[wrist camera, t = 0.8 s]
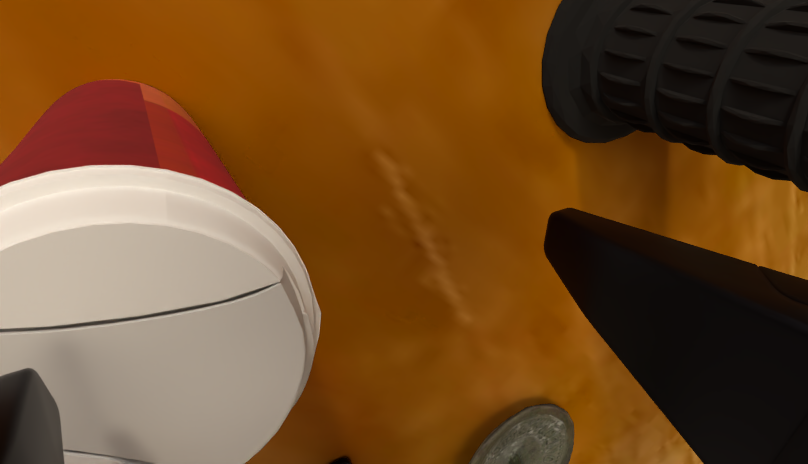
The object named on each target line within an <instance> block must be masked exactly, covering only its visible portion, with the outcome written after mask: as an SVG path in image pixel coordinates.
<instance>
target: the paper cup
mask: <svg viewBox="0 0 808 464" xmlns="http://www.w3.org/2000/svg"><path fill="white" fill-rule="evenodd" d="M320 321H321V311H320V309H319V306H318V303H317V300H316V297H315V294H314V292H313V289H312V285H311V282H310V279H309V275H308V272H307V269H306V267H305V265H304V263H303V261H302V259H301V257H300V256H299V254H298V252H297V250H296V248H295V246H294V245H293V244H292V242H291V241H290V240H289V239H288V237H287V236H286V235H285V234H284V232H283V231H282V230H281V229H280V227H279V226H278V225H277V224H276V223H275V222H273V221H272V220H271V219H270V218H269V217H268V216H267V215H265V214H264V213H263V212H262V211H261V210H260V209H259V208H257V207H256V206H254V205H253V204H251V203H249V202H248V201H247V200H246V199H245V197H244V196H243V194H242V193H241V191H240V189H239V188H238V186H237V185H236V183H235V182H234V180H233V179H232V177H231V176H230V174H229V173H228V171H227V170H226V168H225V167H224V165H223V164H222V162H221V160H220V159H219V157H218V156H217V154H216V153H215V151H214V150H213V148H212V147H211V145H210V144H209V142H208V141H207V140H206V138H205V137H204V135H203V134H202V132H201V131H200V129H199V128H198V127H197V125H196V124H195V123H194V121H193V120H192V119H191V117H190V116H189V115H188V114H187V112H186V111H185V110H184V109H183V108H182V107H181V106H180V105H179V104H178V103H177V102H175V101H174V100H173V99H172V98H170V97H169V96H168V95H166V94H165V93H163V92H161V91H159V90H157V89H155V88H153V87H151V86H148V85H145V84H142V83H139V82H135V81H129V80H121V79H108V80H99V81H94V82H90V83H86V84H84V85H81V86H79V87H76V88H74V89H72V90H71V91H69V92H67V93H66V94H64V95H63V96H62V97H61V98H59V99H58V100H57V101H56V102H55V103H54V104H53V105H52V106H51V107H50V108H49V109H48V110H47V111H46V112H45V113H44V114H43V115H42V116H41V118H40V119H39V120H38V121H37V123H36V124H35V125H34V126H33V127H32V129H31V130H30V131H29V132H28V133H27V135H26V136H25V137H24V138H23V140H22V141H21V142H20V143H19V145H18V146H17V147H16V148H15V149H14V151H13V152H12V153H11V154H10V155H9V156H8V157H7V158H6V159H5V160H4V161H3V163H2V164H1V165H0V376H2V375H5V374H8V373H11V372H15V371H18V370H21V369H25V368H32V369H34V370H35V371H36V372H37V373H38V374H39V376H40V377H41V379H42V381H43V382H44V384H45V385H46V387H47V389H48V390H49V392H50V393H51V395H52V397H53V398H54V400H55V402H56V404H57V406H58V409H59V414H60V421H61V432H62V443H63V453H64V464H245V463H246V462H247V461H248V460H250V459H251V458H252V457H253V456H254V455H255V454H256V453H258V452H259V451H260V450H261V449H262V448H263V447H264V446H265V445H266V444H267V443H268V442H269V440H270V439H271V438H272V437H273V436H274V435H275V433H276V432H277V431H278V430H279V428H280V427H281V425H282V424H283V422H284V420H285V419H286V417H287V415H288V414H289V412H290V410H291V409H292V407H293V406H294V405H295V404H296V402H297V401H298V399H299V397H300V396H301V394H302V392H303V390H304V387H305V385H306V382H307V380H308V377H309V374H310V371H311V367H312V363H313V358H314V353H315V350H316V346H317V342H318V338H319V333H320Z"/></svg>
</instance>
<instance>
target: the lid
mask: <svg viewBox="0 0 808 464" xmlns="http://www.w3.org/2000/svg"><path fill="white" fill-rule="evenodd" d="M573 445H574V424H573V421H572V419H571V418H570V416H569V414H568V412H567V411H565V410H564V409H562V408H560V407H558V406H556V405H554V404H540V405H535V406H530V407H526V408H524V409H523V410H521V411H520V412H518V413H516V414H515V415H513V416H511V417H509V418H508V419H507V420H505V421H504V422H503V423H501V424H500V425H499V426H498V427H497V428H495V429H494V430H493V431H492V432H491V433H490V434H489V435H488V436H487V437H486V439H485V440H484V441H483V442H482V444H481V445H480V446H479V448H478V449H477V451H476V452H475V454H474V455H473V457H472V459H471V460H470V462H469V464H568V463H569V461H570V457H571V453H572V450H573Z"/></svg>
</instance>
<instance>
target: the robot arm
mask: <svg viewBox="0 0 808 464" xmlns="http://www.w3.org/2000/svg"><path fill="white" fill-rule="evenodd" d="M544 252H545V255H546V257H547V259H548V260H549V262H550V263H551V265H552V267H553V268H554V270H555V271H556V273H557V274H558V276H559V277H560V279H561V280H562V282H563V283H564V285H565V287H566V288H567V290H568V291H569V293H570V294H571V296H572V297H573V299H574V300H575V302H576V303H577V305H578V307H579V308H580V309H581V311H582V312H583V314H584V315H585V317H586V318H587V319H588V320H589V322H590V323H591V324H592V326H593V327H594V328H595V329H596V331H597V332H598V333H599V334H600V336H601V337H602V338H603V339H604V341H605V342H606V343H607V344H608V346H609V347H610V348H611V349H612V350H613V352H614V353H615V354H616V355H617V357H618V358H619V359H620V360H621V362H622V363H623V364H624V365H625V367H626V368H627V369H628V370H629V372H630V373H631V374H632V375H633V376H634V378H635V379H636V380H637V381H638V383H639V384H640V385H641V386H642V388H643V389H644V390H645V391H646V393H647V394H648V395H649V396H650V398H651V399H652V400H653V401H654V403H655V404H656V405H657V406H658V407H659V409H660V410H661V411H662V412H663V414H664V415H665V416H666V417H667V419H668V420H669V421H670V422H671V424H672V425H673V426H674V427H675V429H676V430H677V431H678V432H679V433H680V435H681V436H682V437H683V438H684V440H685V441H686V442H687V443H688V445H689V446H690V447H691V448H692V450H693V451H694V452H695V453H696V455H697V456H698V457H699V458H700V460H701V461H702V462H703V463H704V464H808V280H805V279H802V278H799V277H795V276H792V275H788V274H785V273H782V272H778V271H775V270H772V269H769V268H765V267H762V266H759V267H758V266H757V265H755V264H752V263H749V262H746V261H742V260H739V259H736V258H733V257H729V256H726V255H723V254H720V253H716V252H713V251H710V250H707V249H703V248H700V247H697V246H694V245H690V244H687V243H684V242H681V241H677V240H674V239H671V238H668V237H664V236H661V235H658V234H655V233H651V232H648V231H645V230H642V229H638V228H635V227H632V226H629V225H625V224H622V223H619V222H616V221H612V220H609V219H606V218H603V217H599V216H596V215H593V214H590V213H586V212H583V211H580V210H577V209H573V208H566V209H562V210H559V211H556V212H553V213H552V214H551V215H550V217H549V219H548V224H547V230H546V235H545V241H544ZM0 464H64V453H63V443H62V432H61V421H60V414H59V409H58V406H57V404H56V402H55V400H54V398H53V397H52V395H51V393H50V392H49V390H48V389H47V387H46V385H45V384H44V382H43V381H42V379H41V377H40V376H39V374H38V373H37V372H36V371H35V370H34V369H32V368H25V369H21V370H18V371H15V372H11V373H8V374H5V375H2V376H0ZM332 464H351V461H350V460H349V458H341V459H339V460H337V461H335V462H333V463H332Z"/></svg>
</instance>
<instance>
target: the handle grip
mask: <svg viewBox="0 0 808 464" xmlns="http://www.w3.org/2000/svg"><path fill="white" fill-rule="evenodd" d="M542 75H543V90H544V94H545V99H546V103H547V108H548V109H549V111H550V113H551V115H552V116H553V118H554V120H555V122H556V123H557V125H558V126H559V127H560V128H561V129H562V130H563V131H565V132H566V133H567V134H568V135H569V136H570V137H572V138H575V139H578V140H580V141H583V142H585V143H606V142H609V141H612V140H615V139H618V138H621V137H624V136H627V135H628V134H630V133H632V132H634V131H636V130H639V131H642V132H652V133H657V134H658V136H659V137H660V138H662V139H664V140H666V141H669V142H672V143H683V144H684V145H686V146H687V147H688V148H689V149H691V150H694V151H696V152H699V153H702V154H707V155H717V156H718V157H719V158H721V159H722V160H723V161H725V162H726V163H729V164H734V165H745V166H746V167H748V168H749V169H750V170H752V171H753V172H755V173H757V174H760V175H762V176H765V177H768V178H771V179H774V180H787V181H792V182H793V183H794V184H795V185H796V186H797V187H798V188H799V189H800V190H802V191H806V192H808V0H562V2H561V4H560V5H559V7H558V9H557V12H556V14H555V17H554V19H553V22H552V24H551V27H550V29H549V32H548V34H547V39H546V44H545V50H544V55H543V60H542Z"/></svg>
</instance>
